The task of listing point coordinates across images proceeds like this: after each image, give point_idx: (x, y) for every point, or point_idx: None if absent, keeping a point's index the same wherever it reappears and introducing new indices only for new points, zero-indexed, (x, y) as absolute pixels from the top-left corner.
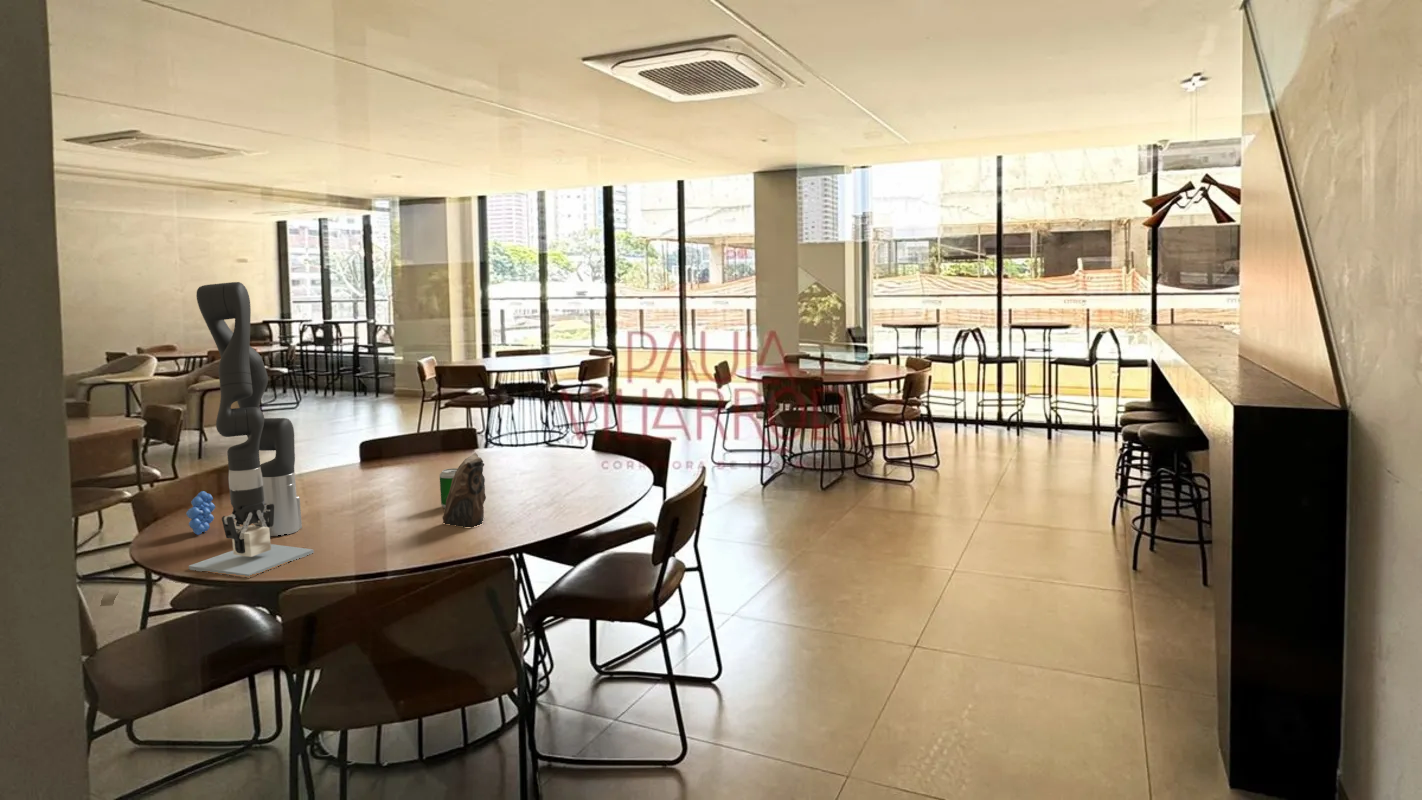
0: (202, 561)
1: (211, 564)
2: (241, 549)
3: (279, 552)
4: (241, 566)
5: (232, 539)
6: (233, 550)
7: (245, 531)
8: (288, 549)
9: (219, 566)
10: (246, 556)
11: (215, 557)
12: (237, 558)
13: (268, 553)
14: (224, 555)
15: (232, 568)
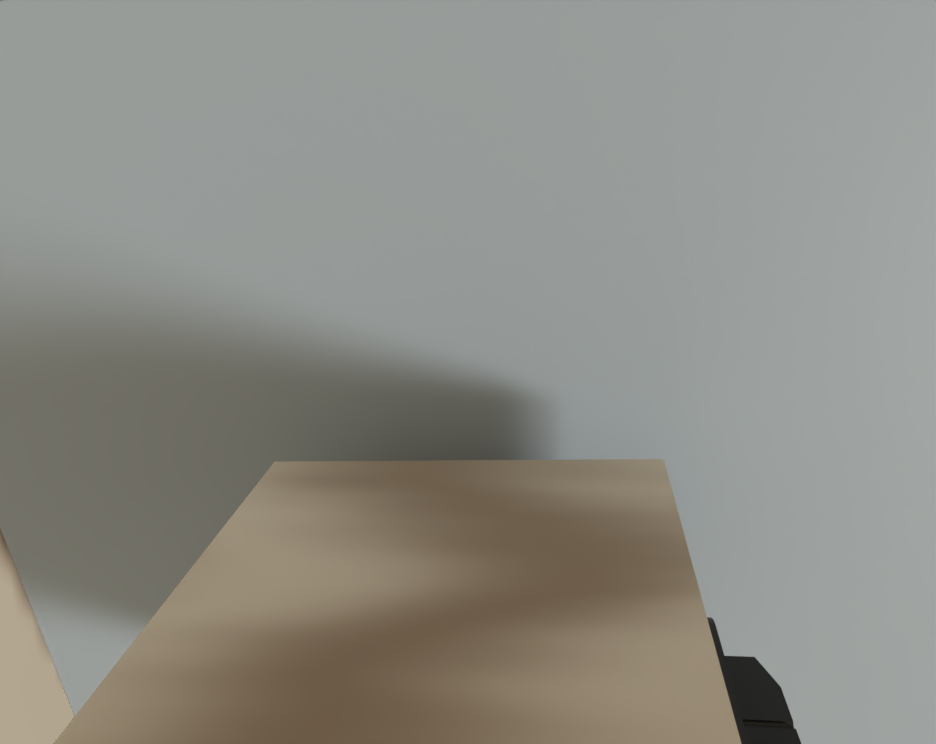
0: (9, 25)
1: (38, 306)
2: None
3: None
4: None
5: (128, 658)
6: (249, 499)
7: None
8: (906, 727)
9: (71, 468)
10: (477, 456)
11: (224, 32)
12: (361, 419)
13: None
14: (359, 83)
15: (126, 647)
